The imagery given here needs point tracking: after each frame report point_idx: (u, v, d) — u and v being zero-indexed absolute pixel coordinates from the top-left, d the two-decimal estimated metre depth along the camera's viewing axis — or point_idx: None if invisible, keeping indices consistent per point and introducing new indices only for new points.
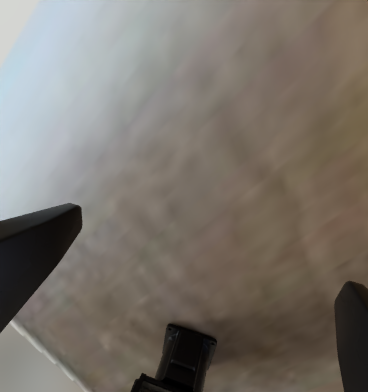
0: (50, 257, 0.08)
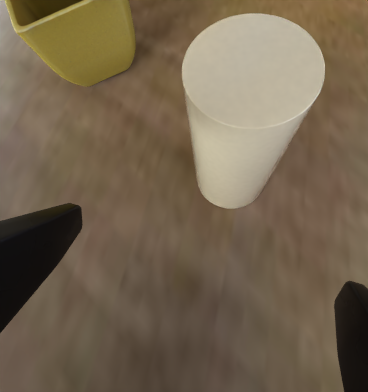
0: (50, 257, 0.08)
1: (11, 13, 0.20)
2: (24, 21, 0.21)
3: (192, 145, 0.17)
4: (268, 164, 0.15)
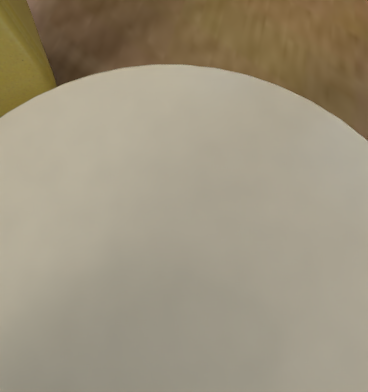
0: None
1: None
2: None
3: None
4: None
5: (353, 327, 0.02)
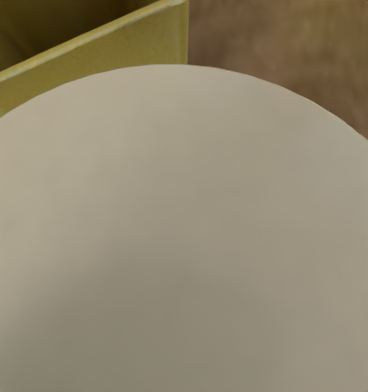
0: None
1: None
2: None
3: None
4: None
5: (353, 326, 0.02)
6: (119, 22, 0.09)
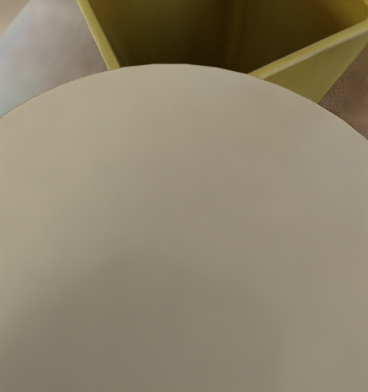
0: None
1: None
2: None
3: None
4: None
5: (354, 326, 0.02)
6: (317, 48, 0.08)
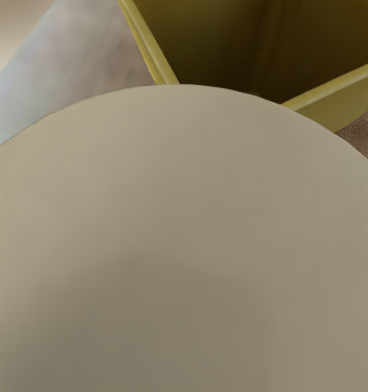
0: None
1: None
2: None
3: None
4: None
5: (358, 344, 0.02)
6: None
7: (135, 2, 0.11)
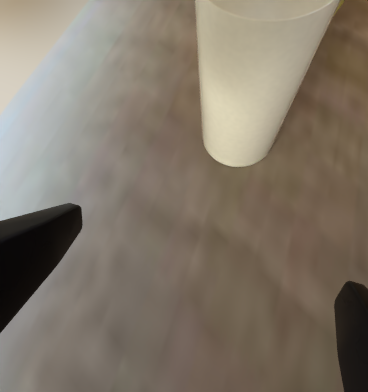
0: (50, 257, 0.08)
1: None
2: None
3: (200, 81, 0.15)
4: (284, 93, 0.14)
5: None
6: None
7: None
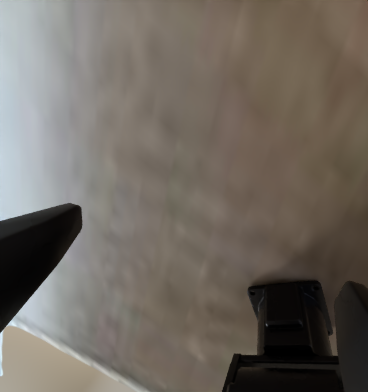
0: (50, 257, 0.08)
1: None
2: None
3: None
4: None
5: None
6: None
7: None
